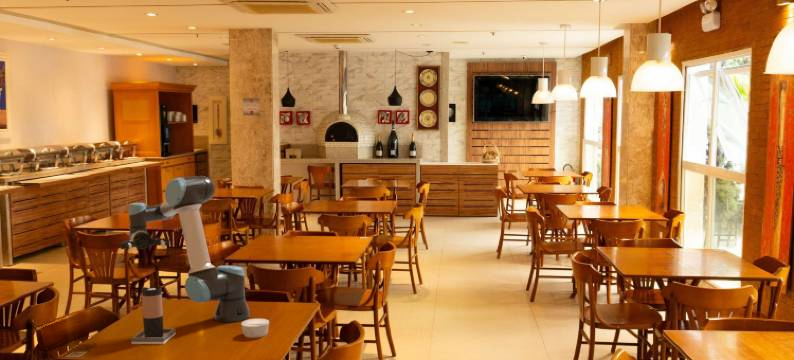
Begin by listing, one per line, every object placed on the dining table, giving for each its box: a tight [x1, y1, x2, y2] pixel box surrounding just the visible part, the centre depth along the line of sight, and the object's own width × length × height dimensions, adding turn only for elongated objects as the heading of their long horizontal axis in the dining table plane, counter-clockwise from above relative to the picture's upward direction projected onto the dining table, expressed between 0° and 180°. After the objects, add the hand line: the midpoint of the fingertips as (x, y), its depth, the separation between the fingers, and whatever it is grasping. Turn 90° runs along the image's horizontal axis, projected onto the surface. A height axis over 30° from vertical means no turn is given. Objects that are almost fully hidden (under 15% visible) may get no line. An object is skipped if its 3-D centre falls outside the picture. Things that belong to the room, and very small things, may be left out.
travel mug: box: [141, 285, 164, 337], centre depth 293 cm, size 8×8×20 cm
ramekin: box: [240, 318, 270, 339], centre depth 297 cm, size 11×11×5 cm
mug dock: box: [130, 328, 177, 345], centre depth 294 cm, size 13×13×2 cm
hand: (147, 246), depth 312 cm, fingers open, 13 cm apart
